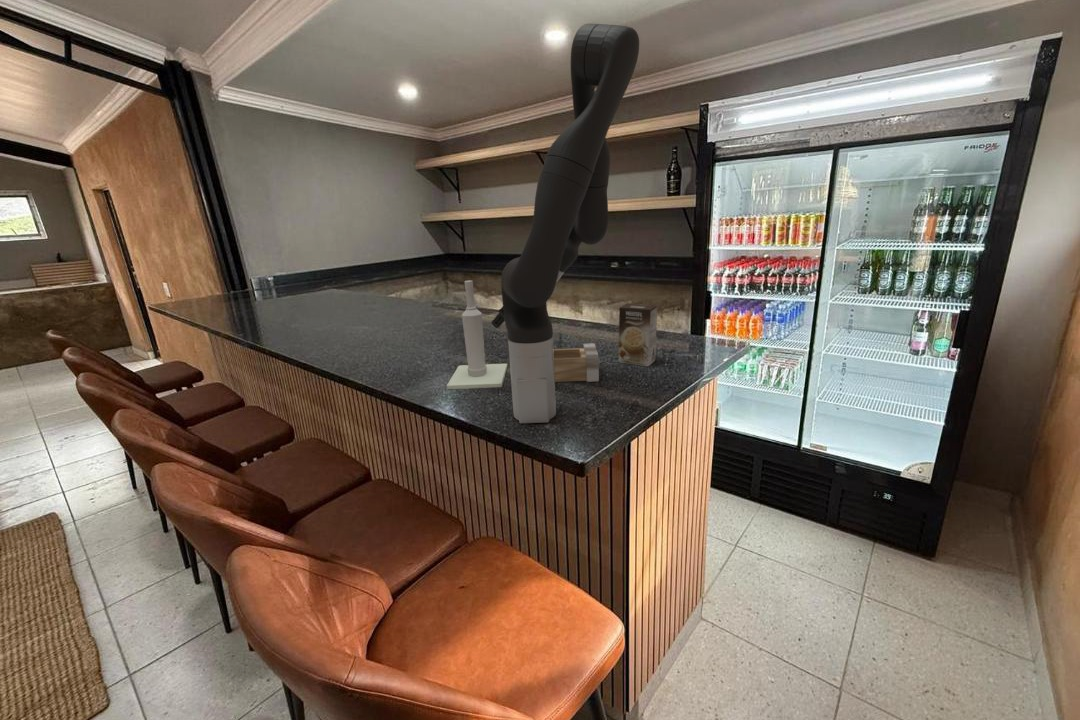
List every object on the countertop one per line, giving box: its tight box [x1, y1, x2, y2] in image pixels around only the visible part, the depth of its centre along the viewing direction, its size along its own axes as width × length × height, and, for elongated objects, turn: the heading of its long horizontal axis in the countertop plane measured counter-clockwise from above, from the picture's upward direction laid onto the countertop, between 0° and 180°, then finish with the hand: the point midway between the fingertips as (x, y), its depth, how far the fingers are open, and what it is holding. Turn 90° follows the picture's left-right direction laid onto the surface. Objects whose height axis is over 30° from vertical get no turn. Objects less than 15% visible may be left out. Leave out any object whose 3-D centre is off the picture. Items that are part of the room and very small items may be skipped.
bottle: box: [461, 280, 487, 377], centre depth 118 cm, size 5×5×25 cm
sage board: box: [446, 363, 508, 390], centre depth 121 cm, size 16×14×1 cm
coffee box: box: [618, 302, 658, 367], centre depth 125 cm, size 9×6×16 cm
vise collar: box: [553, 342, 600, 383], centre depth 119 cm, size 12×15×7 cm
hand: (500, 321), depth 115 cm, fingers open, 8 cm apart
